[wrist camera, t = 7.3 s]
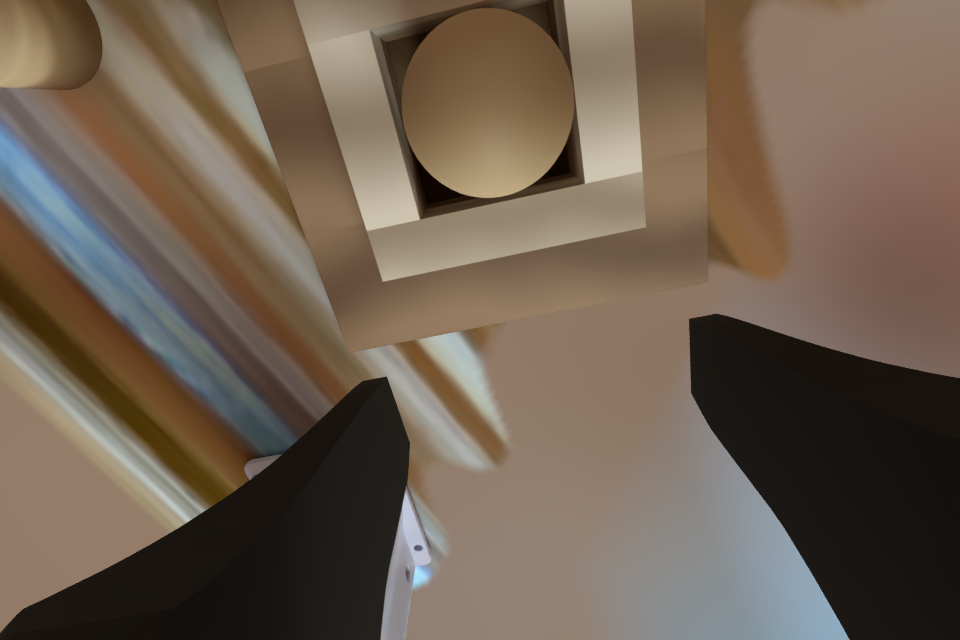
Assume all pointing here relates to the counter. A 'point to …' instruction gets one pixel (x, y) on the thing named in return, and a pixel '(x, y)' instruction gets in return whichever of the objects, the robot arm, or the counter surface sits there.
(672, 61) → the collar board
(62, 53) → the short oak dowel
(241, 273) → the counter surface
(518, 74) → the long oak dowel
